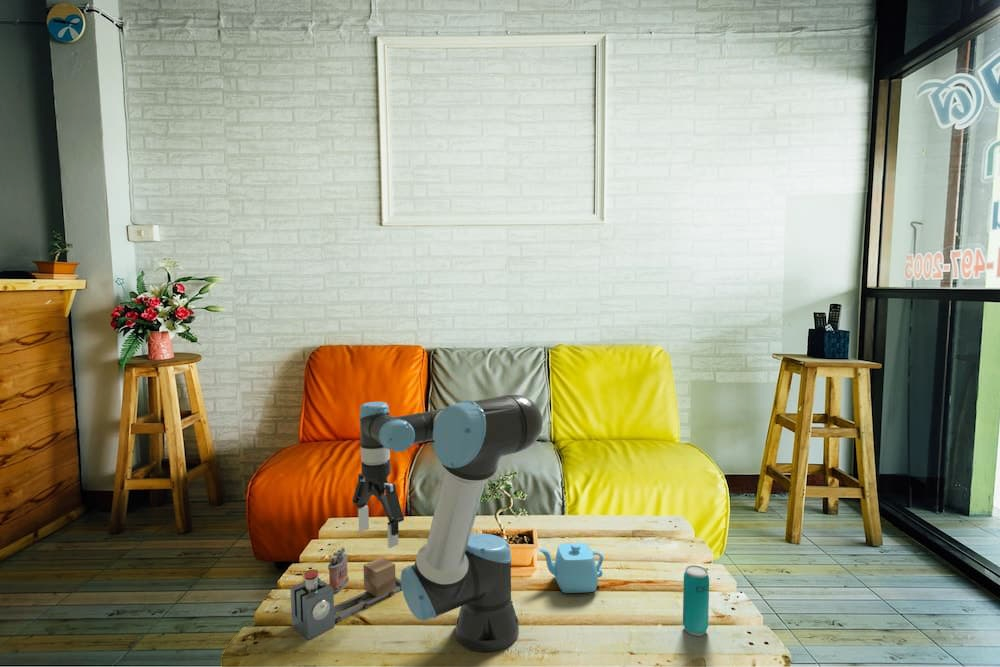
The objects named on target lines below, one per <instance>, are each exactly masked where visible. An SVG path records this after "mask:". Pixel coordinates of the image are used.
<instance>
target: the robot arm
mask: <svg viewBox="0 0 1000 667" xmlns="http://www.w3.org/2000/svg"><path fill="white" fill-rule="evenodd" d="M358 419H359V433H360V460H361V467H360V468H361V472H360V473H358V476H357V483H356V487H355V491H354V495H353V498H352V503H353V504H355V505H356V508H357V516H358V532H359V533H362V532H365V531H367V530H369V529H370V525H369V524H370V522H369V521H370V520H369V506H368V502H369V500H370V499H371V497H372V496H375V498H376V500H378V501H379V502H380V504H381V505H382V508H383V511H384V513H385V515H386V516H387V520H388V522H387V523H386V524H387V529H386V530H387V548H389V549H390V548H393V547H396V546H398V545H399V533H400V532H399V523H402V522H403V521H405V518H404V514H403V511H402V507H401V504H400V500H399V496H398V493H397V488H396V486H397V485H396V483H395V482H393V483H389V482H388V477H389V476H390V474H391V470H392V469H391V461H390V459H391V454H390V452H391V451H392V452H397V453H401V452H405V451H406V450H407V449H409V448H411V446H412V445H415V444H419V443H420V444H421V443H424V442H428V441H429V442H430V441H433V442H434V443H433V445H432V446H433V450H434V453H435V455H436V457H437V459H438V460H439V463H440V465H441V467H442V468H443V470H444V471H443V475H442V479H441V483H440V488H439V492H438V495H437V499H436V504H435V507H434V508H435V509H434V512H433V516H432V521H431V523H430V524H431V525H430V530H429V533H428V538H427V541H426V544H424V545H423V546H421V547H420V549H419V550H418V551H417V553H416V558H415V561H414V564H412V565H409V564H408V565H407V566H406V567H404V568H403V569H402V571H401V573H400V580H401V586H402V590H401V591H402V593H403V597H404V600H405V602H406V604H407V607H408V609H409V612H411V614H412V615H413V616H414V617H415V618H416V619H417V620H420V621H422V622H424V621H427V620H430V619H432V618H433V619H436V618H437V617H440V616H441V615H444V614H446V613H448V612H451V611H454V610H456V609H457V608H460V609H459V612H458V617H457V618H456V621H455V622H456V623H455V635H456V639H457V642H459V644H461V645H462V646H463V647H464V648H467V649H469V650H470V651H475V652H481V653H482V652H483V653H489V652H498V651H501V650H504V649H505V648H508V647H510V646H511V645H513V643H515V642H516V640H517V639H518V637H519V635H520V634H519V633H520V631H519V630H520V627H519V625H520V624H519V619H518V617H517V615H516V611H515V610H516V609H515V608H514V605H513V604H514V603H513V602H512V555H511V554H512V553H511V547H510V543H509V542H508V541H507V540H506V539H504V538H502V537H500V536H498V535H495V534H491V533H472V530H473V528H474V524H475V520H476V516H477V513H478V509H479V505H480V502H481V499H482V495H483V491H484V488H485V484H486V481H488V480H490V479H491V478H492V477H493V476H495V474H496V473H497V470H498V466H499V463H500V459H501V457H504V456H508V455H511V454H515V453H519V452H522V451H525V450H527V449H529V448H530V447H531V446H532V445H534V444H535V443H536V441H537V440H538V439H539V437H540V435H541V433H542V429H543V416H542V412H541V410H540V407H539V406H538V405H537V403H535V402H534V401H533V400H532V399H531V398H528V397H526V396H524V395H520V394H506V395H501V396H495V397H490V398H483V399H478V400H477V399H476V400H462V401H459V402H458V403H454V404H449V405H448V406H446V407H444V408H439V409H435V410H429V411H424V412H418V413H412V414H406V415H405V414H404V415H399V416H392V415H390V409H389V404H388V403H387V402H384V401H369V402H364V403H363V404H361V405H360V406H359V418H358Z"/></svg>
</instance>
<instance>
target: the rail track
mask: <svg viewBox="0 0 1000 667" xmlns="http://www.w3.org/2000/svg"><path fill="white" fill-rule="evenodd" d="M399 591H402V586H401V579H399V578H398V577H396V589H395V590H392V591H390V592H388V593H386V594H384V595H382V596H380V597H378V598H376V597H375V596H373V595H372V594H370V593H369V592H367V591H366V590H365V591H364V592H362V593H359V594H357V595H355V596H354V597H351V598H348V599H347V600H345V601H342V602H341V603H338V604H337V605H334V621H335V623H340V622H342V621H343V619H344V618H347V617H348V616H351V615H352V614H354V613H357V612H359V611H361V610H363V609H365V610H366V609H368V607H369V608H370V606H371V605H373V604H375V603H378V602H380V601H382V600H383V598H384V599H386V598H387V597H393V596H395V595H396V593H398V592H399ZM381 599H382V600H381ZM357 603H358V604H357ZM354 604H355V605H354ZM350 605H351V607H350ZM348 606H349V607H348ZM341 609H342V610H343V611H342V610H341ZM344 609H345V610H344ZM295 626H296V625H295ZM296 627H297V626H296ZM296 627H295V628H296ZM295 628H294V629H295ZM302 633H303V634H304V632H302ZM302 636H303V637H304V635H302Z"/></svg>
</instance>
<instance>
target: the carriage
mask: <svg viewBox="0 0 1000 667" xmlns="http://www.w3.org/2000/svg"><path fill="white" fill-rule="evenodd" d="M396 578H397V576H396V564H395V563H394V562H392V561H390V560H389V559H388V558H385V557H383V556H380V557H378V558H376V559H374V560H372V561H369V562H366V563H364V564H363V587H364V588H363V589H364V591H365V592H366V591H367V592H369V593H370V594H372V597H374V596H375V597H376V598H378V597H380V596H382V595H384V594H386V593H388V592H390V591H392V590H395V589H396Z"/></svg>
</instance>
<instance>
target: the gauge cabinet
mask: <svg viewBox="0 0 1000 667" xmlns="http://www.w3.org/2000/svg"><path fill="white" fill-rule="evenodd" d="M317 581H318V590H317V591H314V592H312V593H310V594H307V595H306V585H305V581H303V582H300V583H298V584H295V585H293V586H291V587H290V590H289V591H290V606H291V607H290V608H291V609H290V610H291V612H290V613H291V627H292V628H294V629H295V630H296V631H297V632H298V633H299V634H300V635H302V636H303V635H304V636H303V637H304V638H305V639H306V640H307V641H309V640H311V639H313V638H315V637H317V636H320V635H321V634H323V633H326V632H328V631H329V630H331V629H333V628H335V624H336V622H335V621H334V606H335V604H334V603H335V601H334V600H335V598H334V594H333V588H332V587H331V586H330V584H329V585H328V584H327V583H326V582H325V581H323V580H322V579H321V578H319V577H318V576H317ZM295 625H296V626H297V627H296V626H295ZM295 627H296V628H295ZM302 632H304V634H303V633H302Z"/></svg>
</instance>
